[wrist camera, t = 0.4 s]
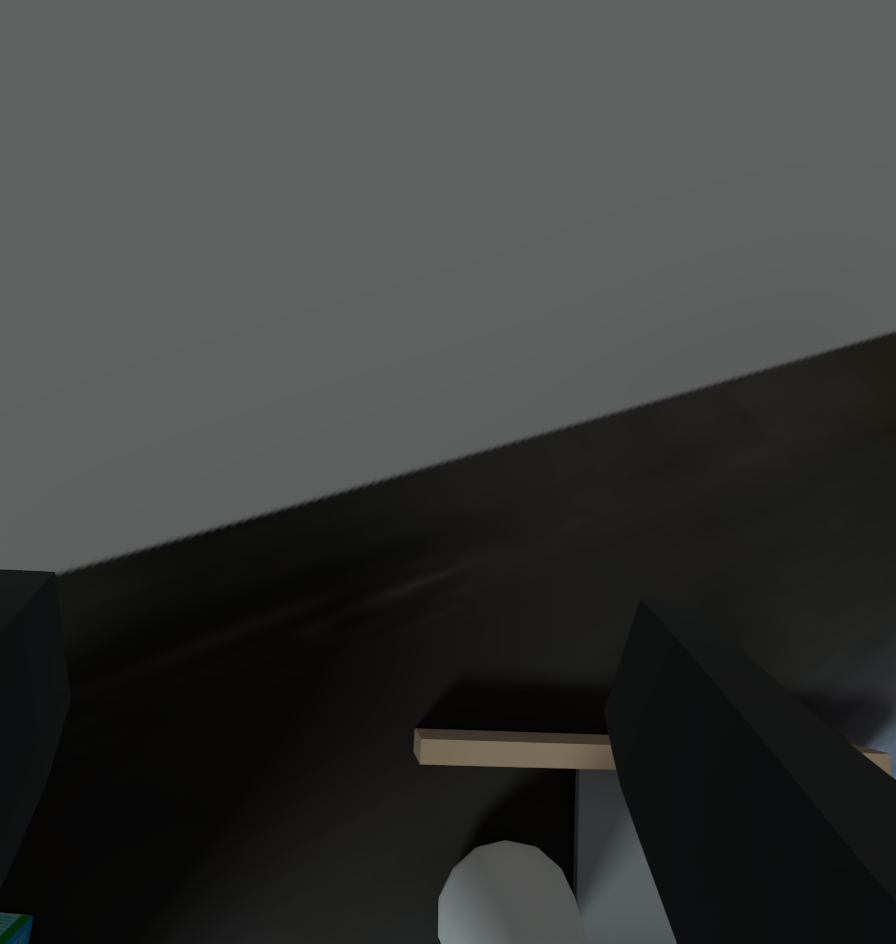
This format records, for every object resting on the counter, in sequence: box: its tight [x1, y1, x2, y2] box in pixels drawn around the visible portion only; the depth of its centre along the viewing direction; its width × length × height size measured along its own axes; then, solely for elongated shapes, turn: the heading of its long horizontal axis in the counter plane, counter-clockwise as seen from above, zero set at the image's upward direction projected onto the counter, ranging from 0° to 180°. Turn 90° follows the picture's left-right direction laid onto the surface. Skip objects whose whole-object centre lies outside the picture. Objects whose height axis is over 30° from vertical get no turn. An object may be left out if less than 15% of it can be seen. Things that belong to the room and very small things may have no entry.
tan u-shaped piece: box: [414, 728, 891, 944], centre depth 35 cm, size 14×21×3 cm, turn 87°
